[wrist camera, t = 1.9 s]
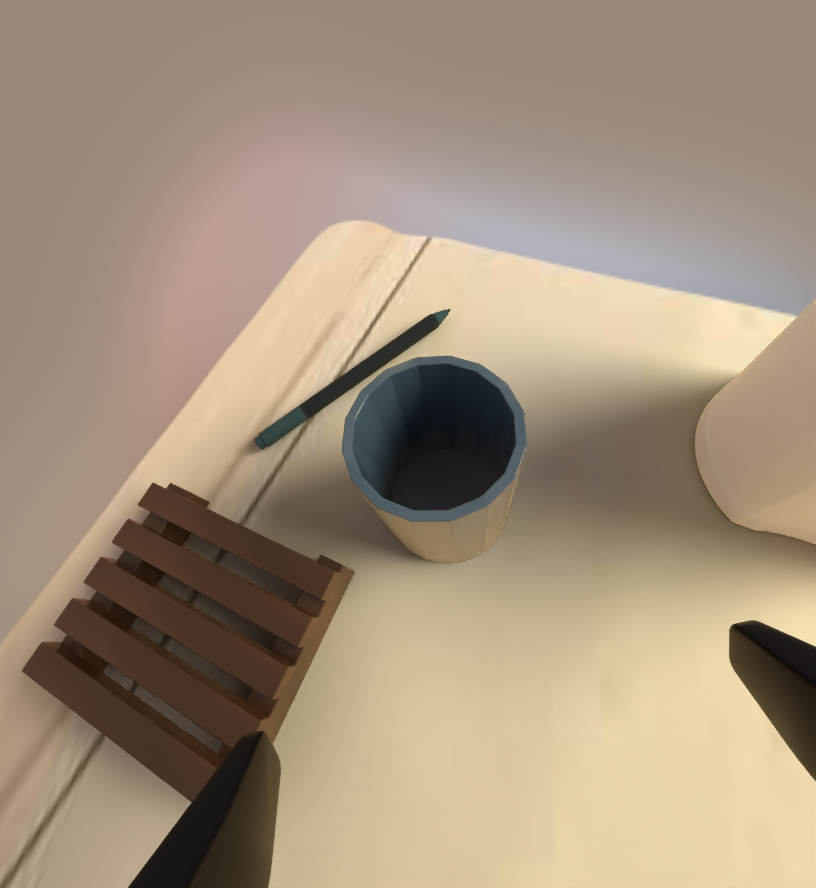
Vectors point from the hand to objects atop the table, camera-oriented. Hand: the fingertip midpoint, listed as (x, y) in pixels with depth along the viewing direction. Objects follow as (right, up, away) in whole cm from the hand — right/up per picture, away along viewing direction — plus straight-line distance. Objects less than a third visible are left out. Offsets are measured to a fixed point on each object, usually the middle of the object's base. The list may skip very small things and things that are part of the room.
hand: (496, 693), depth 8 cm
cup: (0, +1, +16) cm, 16 cm away
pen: (-5, +9, +20) cm, 23 cm away
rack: (-12, -5, +15) cm, 20 cm away
